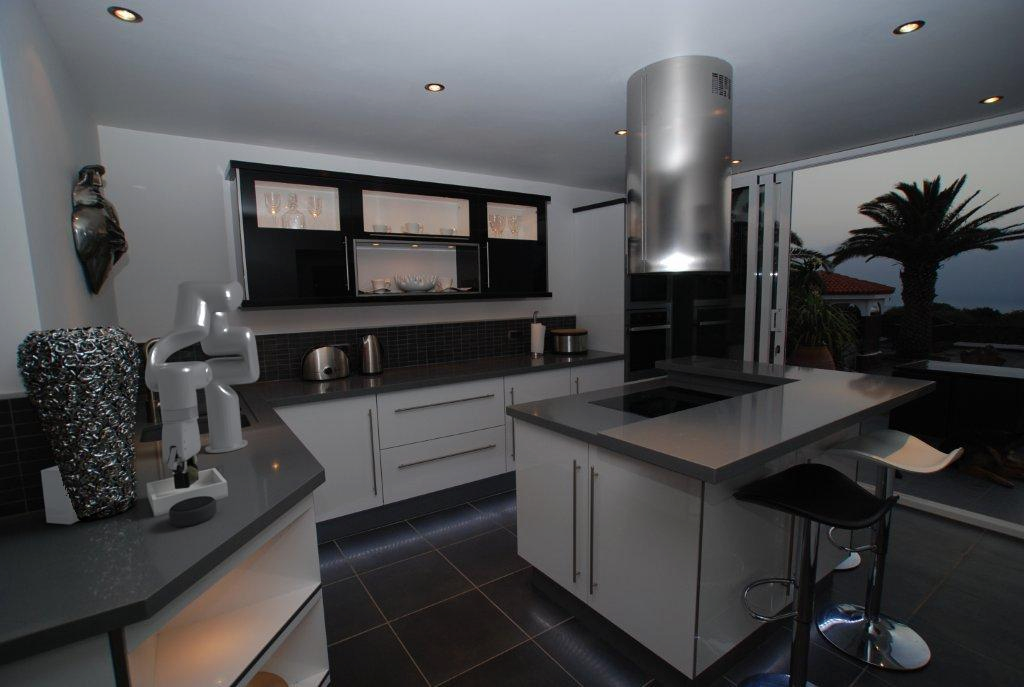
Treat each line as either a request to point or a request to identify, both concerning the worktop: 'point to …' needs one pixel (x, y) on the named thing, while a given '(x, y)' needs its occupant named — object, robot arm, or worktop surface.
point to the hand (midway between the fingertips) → (187, 483)
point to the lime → (192, 474)
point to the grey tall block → (56, 498)
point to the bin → (185, 490)
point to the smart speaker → (192, 511)
